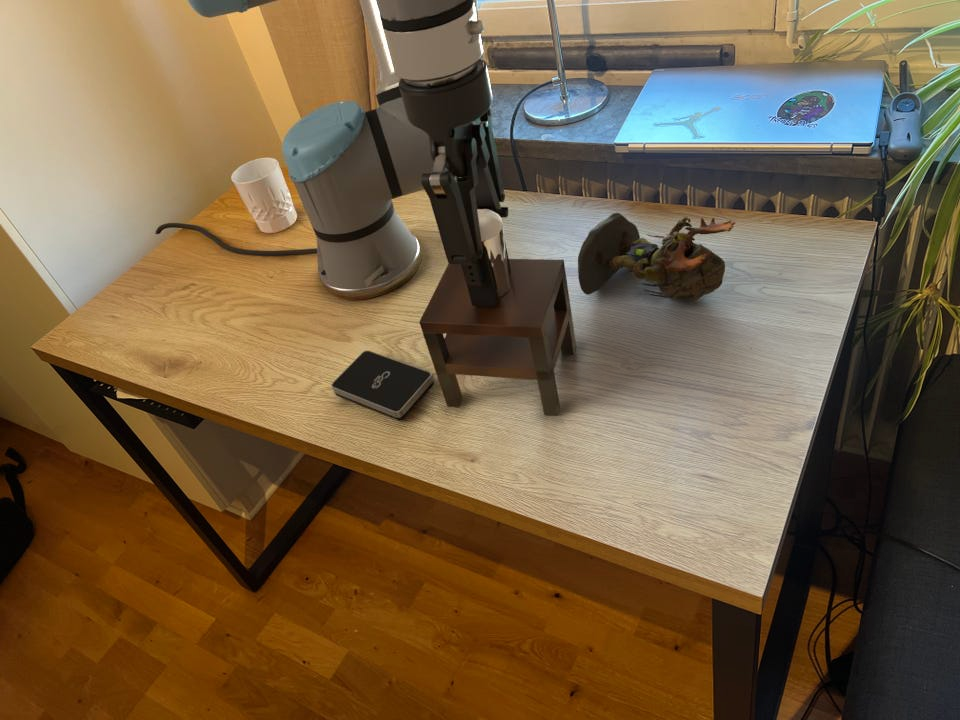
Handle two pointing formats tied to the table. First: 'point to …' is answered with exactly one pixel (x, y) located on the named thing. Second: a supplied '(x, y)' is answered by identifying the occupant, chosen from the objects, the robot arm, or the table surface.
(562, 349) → the small wooden side table
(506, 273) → the milkshake
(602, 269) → the figurine
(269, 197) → the white cup
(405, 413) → the external hard drive
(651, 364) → the table surface
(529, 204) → the table surface
